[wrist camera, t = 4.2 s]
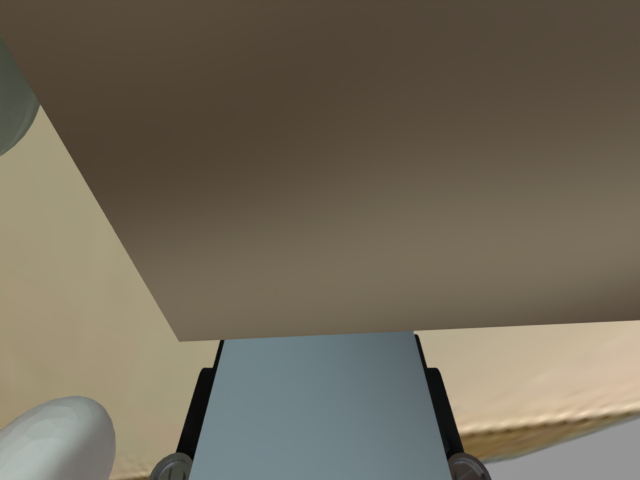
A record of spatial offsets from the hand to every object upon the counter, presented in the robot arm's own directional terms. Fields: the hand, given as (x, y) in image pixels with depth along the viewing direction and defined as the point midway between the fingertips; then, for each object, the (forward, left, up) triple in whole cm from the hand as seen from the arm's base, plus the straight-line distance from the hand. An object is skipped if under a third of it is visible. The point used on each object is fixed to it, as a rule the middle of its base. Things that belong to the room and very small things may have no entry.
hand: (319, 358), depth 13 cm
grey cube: (0, 0, -1) cm, 1 cm away
